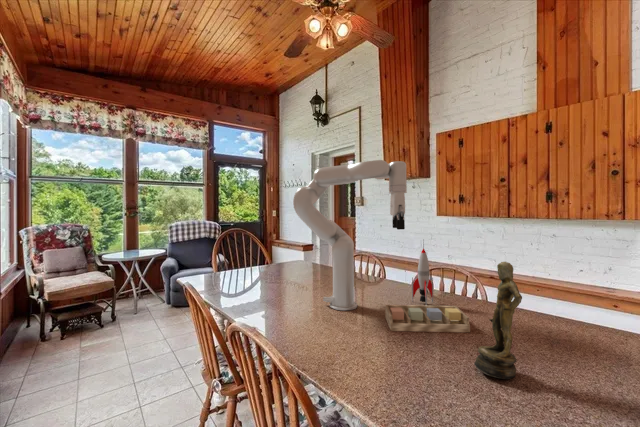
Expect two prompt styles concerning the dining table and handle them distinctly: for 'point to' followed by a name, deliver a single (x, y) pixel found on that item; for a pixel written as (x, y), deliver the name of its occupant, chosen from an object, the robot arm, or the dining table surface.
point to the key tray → (426, 320)
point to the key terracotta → (397, 313)
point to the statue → (498, 356)
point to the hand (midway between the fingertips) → (398, 228)
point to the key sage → (415, 313)
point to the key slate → (434, 314)
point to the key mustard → (453, 314)
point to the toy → (423, 278)
